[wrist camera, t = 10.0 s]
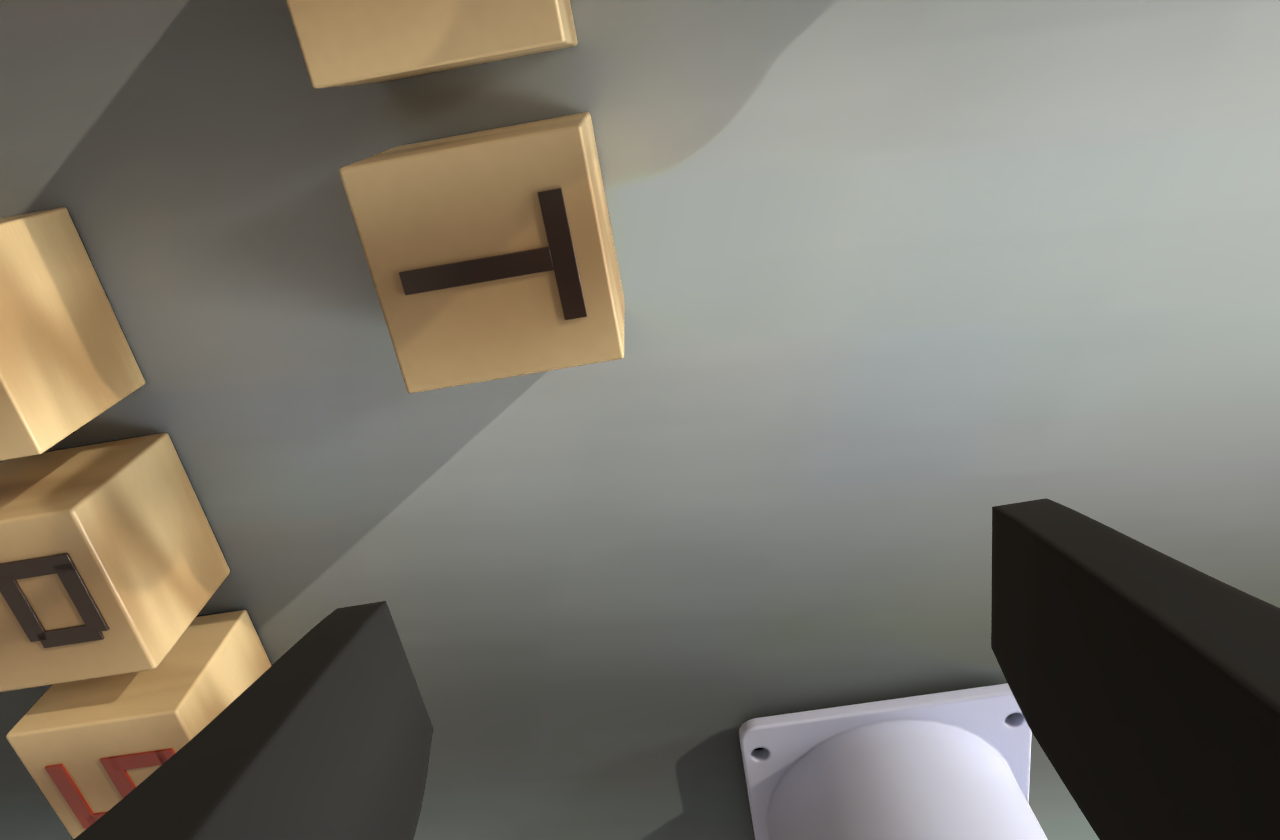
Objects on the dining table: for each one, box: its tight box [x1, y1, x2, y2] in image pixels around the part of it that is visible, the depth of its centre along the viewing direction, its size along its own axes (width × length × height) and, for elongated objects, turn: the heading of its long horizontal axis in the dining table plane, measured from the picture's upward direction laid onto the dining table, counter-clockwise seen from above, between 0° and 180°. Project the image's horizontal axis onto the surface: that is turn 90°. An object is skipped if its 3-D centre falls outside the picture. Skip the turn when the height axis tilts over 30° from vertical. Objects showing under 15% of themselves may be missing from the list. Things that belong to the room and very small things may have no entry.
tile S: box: [6, 610, 272, 839], centre depth 20 cm, size 4×4×4 cm
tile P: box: [0, 433, 230, 692], centre depth 18 cm, size 4×4×4 cm
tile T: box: [339, 112, 624, 393], centre depth 15 cm, size 4×4×4 cm
